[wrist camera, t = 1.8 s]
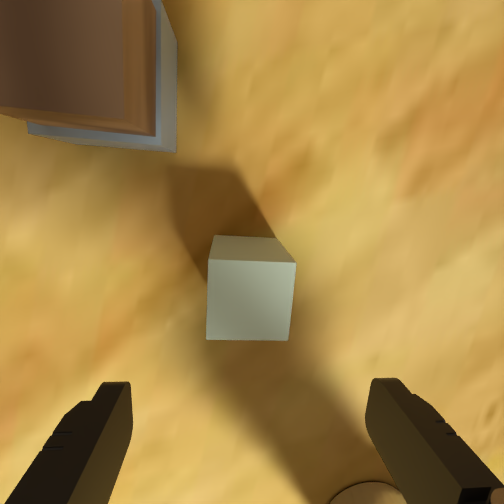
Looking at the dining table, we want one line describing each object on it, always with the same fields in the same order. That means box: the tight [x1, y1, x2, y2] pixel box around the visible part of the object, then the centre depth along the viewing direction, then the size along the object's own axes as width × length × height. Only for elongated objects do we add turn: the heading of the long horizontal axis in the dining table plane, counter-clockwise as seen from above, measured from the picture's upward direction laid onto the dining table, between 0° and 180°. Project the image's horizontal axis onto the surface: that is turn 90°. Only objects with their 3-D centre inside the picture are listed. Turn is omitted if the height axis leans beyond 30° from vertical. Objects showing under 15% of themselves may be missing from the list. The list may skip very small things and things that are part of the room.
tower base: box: [27, 0, 177, 153], centre depth 17 cm, size 7×7×5 cm
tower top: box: [0, 0, 156, 137], centre depth 12 cm, size 6×6×5 cm
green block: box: [206, 235, 297, 341], centre depth 20 cm, size 5×5×7 cm
